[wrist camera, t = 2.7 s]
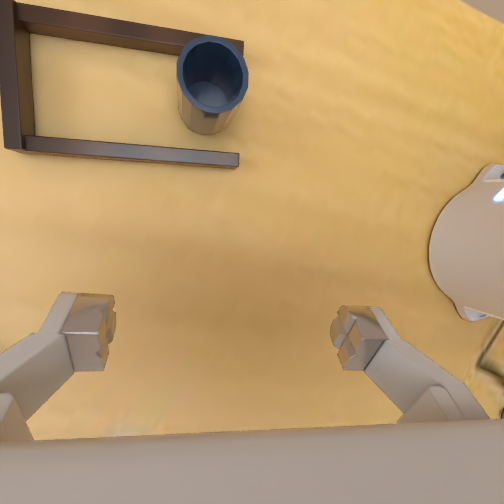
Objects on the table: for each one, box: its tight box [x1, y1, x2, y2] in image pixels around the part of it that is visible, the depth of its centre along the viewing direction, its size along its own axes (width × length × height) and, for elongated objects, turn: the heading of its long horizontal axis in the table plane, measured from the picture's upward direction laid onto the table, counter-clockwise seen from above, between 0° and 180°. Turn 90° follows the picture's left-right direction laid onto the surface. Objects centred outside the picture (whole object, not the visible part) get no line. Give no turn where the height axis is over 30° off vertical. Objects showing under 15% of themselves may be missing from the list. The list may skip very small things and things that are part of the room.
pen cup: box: [177, 35, 249, 135], centre depth 24 cm, size 5×5×8 cm
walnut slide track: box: [0, 0, 244, 169], centre depth 25 cm, size 18×10×2 cm, turn 87°
